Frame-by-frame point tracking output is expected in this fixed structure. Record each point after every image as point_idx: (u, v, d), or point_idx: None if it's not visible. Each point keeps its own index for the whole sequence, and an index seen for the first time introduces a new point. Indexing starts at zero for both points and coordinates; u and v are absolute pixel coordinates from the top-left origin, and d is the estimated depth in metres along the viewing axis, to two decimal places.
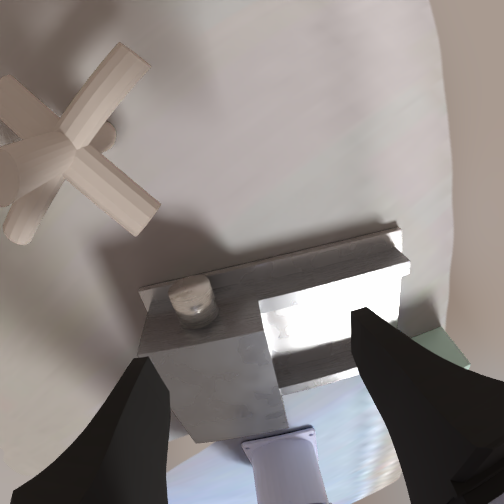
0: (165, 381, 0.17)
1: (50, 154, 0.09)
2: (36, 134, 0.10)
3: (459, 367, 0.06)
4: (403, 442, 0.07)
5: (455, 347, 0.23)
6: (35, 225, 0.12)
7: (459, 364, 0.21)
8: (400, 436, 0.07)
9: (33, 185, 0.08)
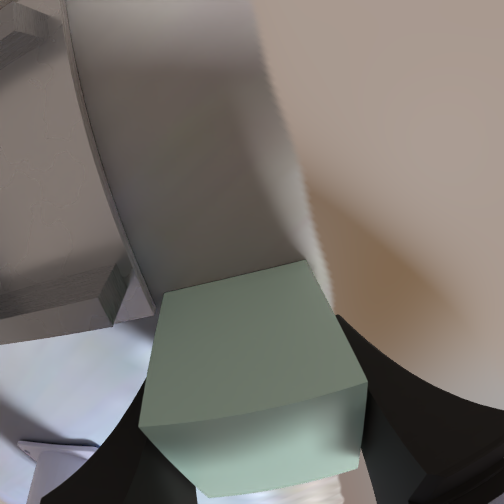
0: None
1: None
2: None
3: (425, 383, 0.06)
4: (370, 455, 0.07)
5: (326, 316, 0.08)
6: None
7: (316, 378, 0.06)
8: (367, 448, 0.07)
9: None
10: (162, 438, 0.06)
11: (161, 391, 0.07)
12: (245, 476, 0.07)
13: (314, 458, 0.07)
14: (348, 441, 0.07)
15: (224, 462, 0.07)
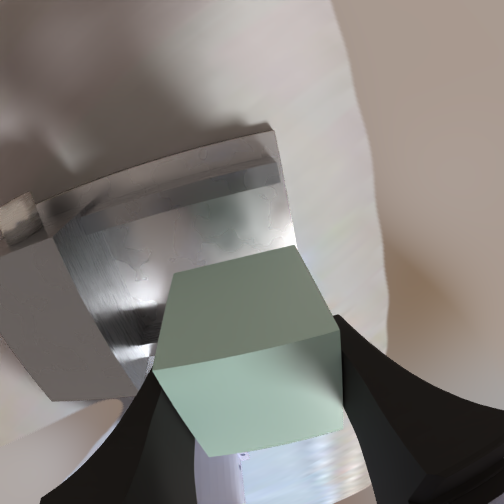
0: None
1: None
2: None
3: (425, 383, 0.06)
4: (370, 455, 0.07)
5: (309, 285, 0.10)
6: None
7: (298, 328, 0.08)
8: (367, 448, 0.07)
9: None
10: (171, 382, 0.08)
11: (172, 343, 0.09)
12: (241, 429, 0.09)
13: (302, 411, 0.09)
14: (330, 394, 0.09)
15: (222, 411, 0.09)
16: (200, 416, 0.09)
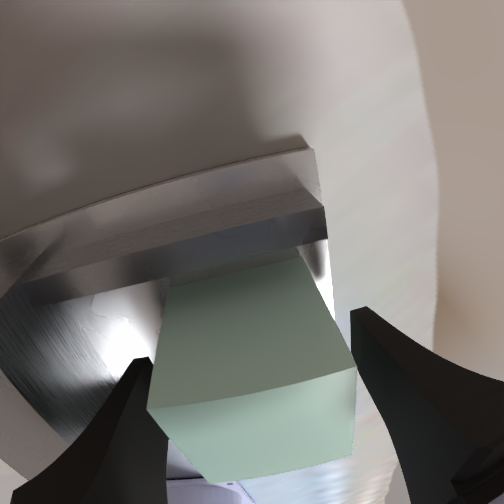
0: None
1: None
2: None
3: (459, 367, 0.06)
4: (403, 442, 0.07)
5: (320, 308, 0.09)
6: None
7: (310, 363, 0.07)
8: (400, 436, 0.07)
9: None
10: (168, 420, 0.07)
11: (167, 377, 0.07)
12: (245, 460, 0.08)
13: (310, 443, 0.08)
14: (341, 426, 0.08)
15: (225, 446, 0.08)
16: (200, 450, 0.08)
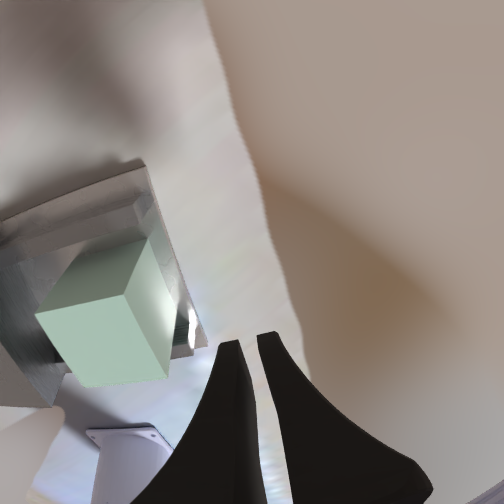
0: None
1: None
2: None
3: (337, 415, 0.06)
4: None
5: (131, 266, 0.14)
6: None
7: (106, 292, 0.12)
8: None
9: None
10: (44, 322, 0.12)
11: (49, 300, 0.13)
12: (93, 364, 0.13)
13: (126, 354, 0.13)
14: (139, 343, 0.13)
15: (77, 347, 0.13)
16: (66, 349, 0.13)
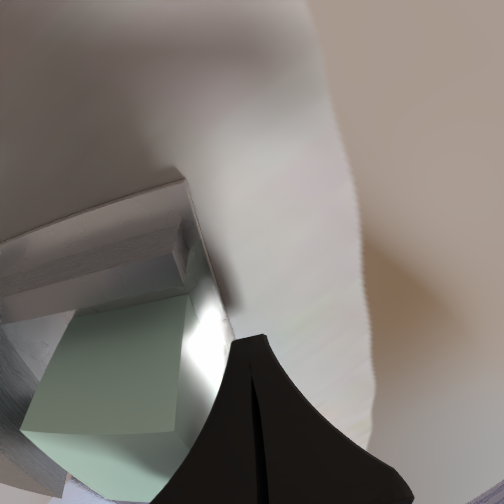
0: None
1: None
2: None
3: (320, 419, 0.06)
4: None
5: (173, 358, 0.08)
6: None
7: (137, 417, 0.06)
8: None
9: None
10: (38, 442, 0.06)
11: (39, 405, 0.07)
12: (121, 486, 0.07)
13: None
14: None
15: (94, 471, 0.07)
16: (77, 470, 0.07)
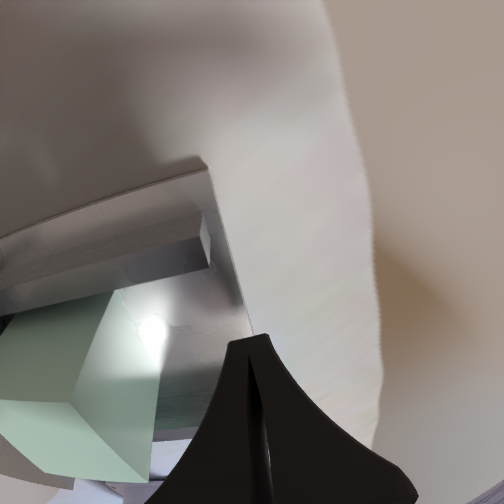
0: None
1: None
2: None
3: (324, 419, 0.06)
4: None
5: (86, 341, 0.08)
6: None
7: (47, 388, 0.07)
8: None
9: None
10: None
11: None
12: (50, 457, 0.08)
13: (88, 458, 0.08)
14: (104, 452, 0.07)
15: (25, 439, 0.07)
16: (13, 438, 0.07)
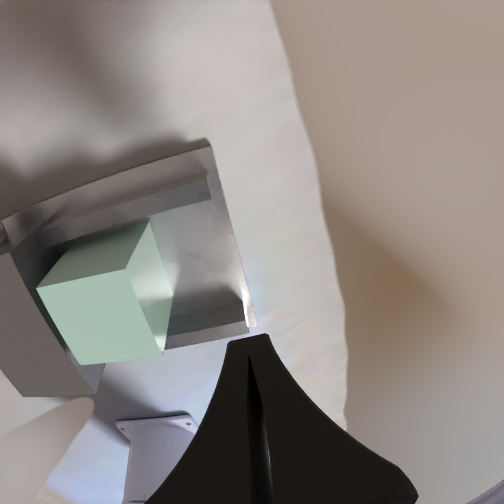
0: None
1: None
2: None
3: (324, 419, 0.06)
4: None
5: (133, 245, 0.15)
6: None
7: (108, 267, 0.13)
8: None
9: None
10: (46, 297, 0.13)
11: (51, 276, 0.13)
12: (91, 340, 0.14)
13: (123, 330, 0.14)
14: (137, 319, 0.14)
15: (76, 322, 0.13)
16: (65, 325, 0.13)
